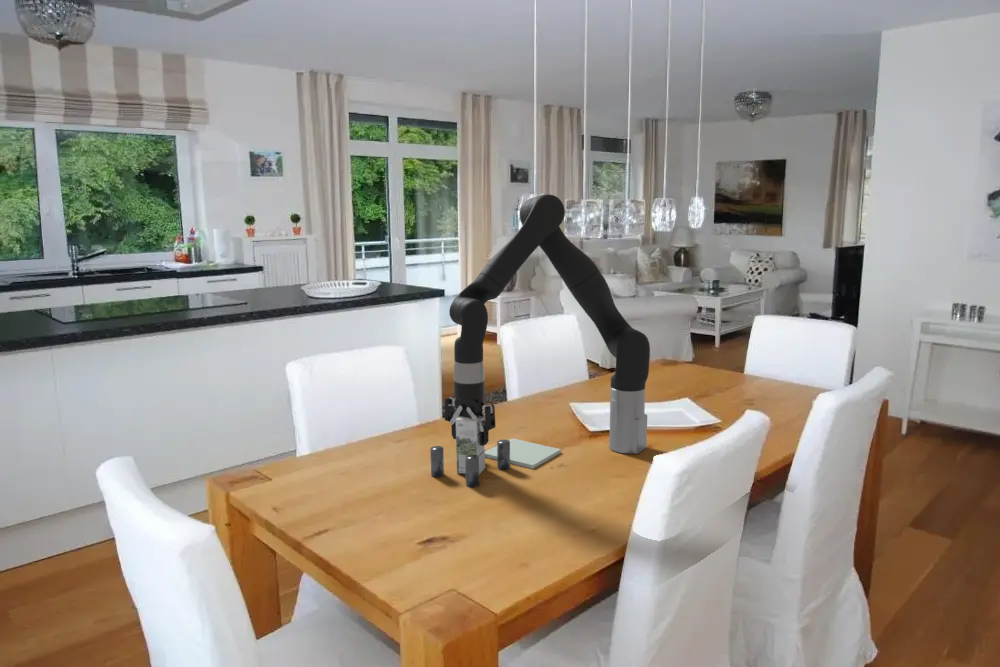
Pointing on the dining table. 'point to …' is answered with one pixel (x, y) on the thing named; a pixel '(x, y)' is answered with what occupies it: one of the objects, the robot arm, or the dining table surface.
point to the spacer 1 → (437, 461)
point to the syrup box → (468, 443)
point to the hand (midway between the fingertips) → (469, 441)
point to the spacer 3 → (503, 454)
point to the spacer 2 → (472, 470)
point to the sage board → (526, 453)
